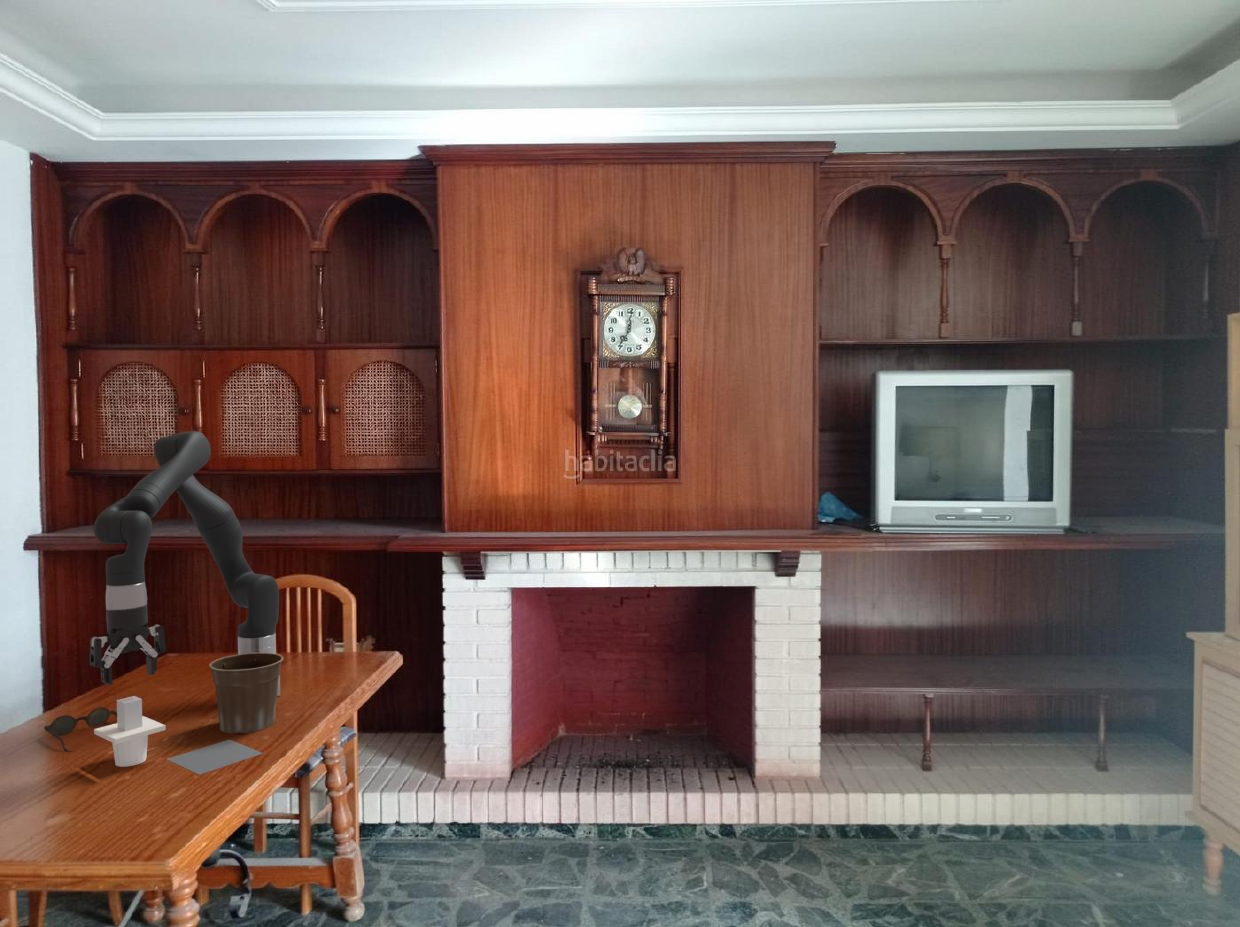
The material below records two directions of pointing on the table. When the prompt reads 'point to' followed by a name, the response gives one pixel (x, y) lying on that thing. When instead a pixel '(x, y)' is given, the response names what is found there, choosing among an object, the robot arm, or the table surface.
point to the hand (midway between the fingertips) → (129, 679)
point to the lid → (129, 723)
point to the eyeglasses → (69, 723)
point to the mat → (214, 756)
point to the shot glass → (130, 752)
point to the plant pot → (246, 691)
